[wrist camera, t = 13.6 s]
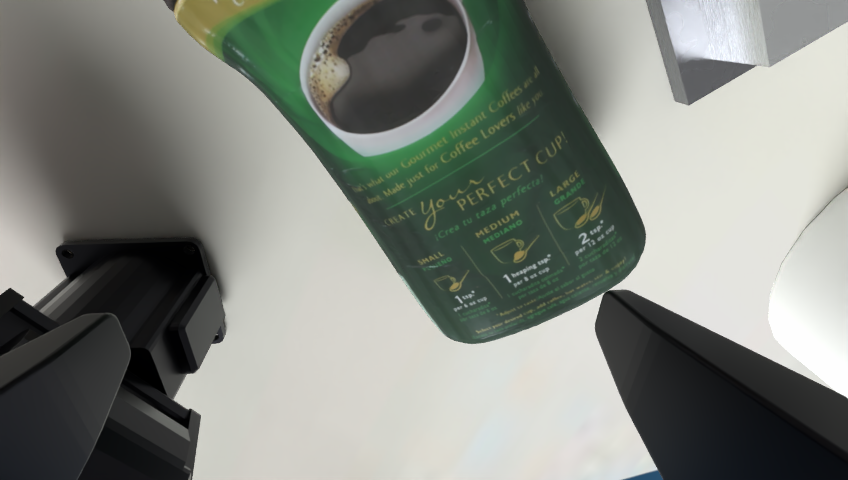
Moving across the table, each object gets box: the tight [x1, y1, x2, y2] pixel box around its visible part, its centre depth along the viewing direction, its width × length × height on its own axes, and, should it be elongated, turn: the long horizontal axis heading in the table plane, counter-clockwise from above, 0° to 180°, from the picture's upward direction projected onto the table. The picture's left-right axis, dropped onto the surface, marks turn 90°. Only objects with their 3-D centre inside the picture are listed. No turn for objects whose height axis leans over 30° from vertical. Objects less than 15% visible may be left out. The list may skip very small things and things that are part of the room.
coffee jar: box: [164, 0, 646, 344], centre depth 15 cm, size 10×8×19 cm
